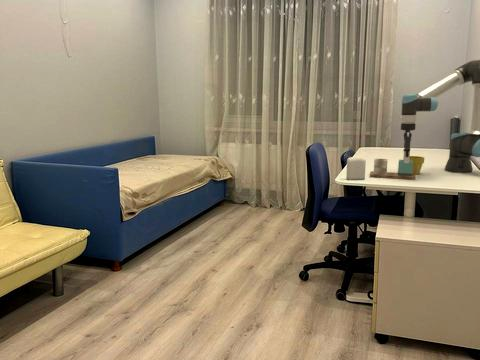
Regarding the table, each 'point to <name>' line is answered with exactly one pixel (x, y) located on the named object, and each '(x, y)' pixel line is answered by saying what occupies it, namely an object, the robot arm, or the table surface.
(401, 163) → the teal sleeve
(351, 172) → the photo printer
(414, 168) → the plant pot
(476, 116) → the robot arm
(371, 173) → the peg board
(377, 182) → the table surface
